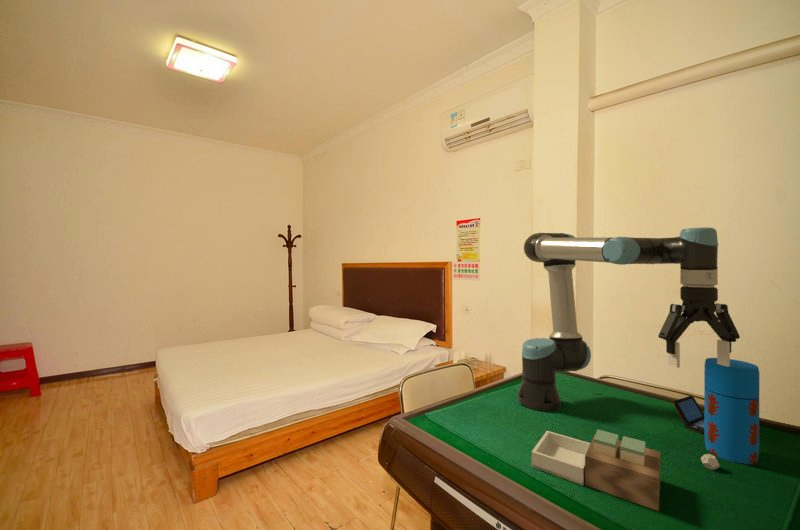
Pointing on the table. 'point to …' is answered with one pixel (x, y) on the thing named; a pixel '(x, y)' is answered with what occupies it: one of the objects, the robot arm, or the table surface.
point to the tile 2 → (632, 450)
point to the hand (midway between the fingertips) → (698, 365)
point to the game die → (710, 461)
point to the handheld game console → (690, 413)
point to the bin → (561, 456)
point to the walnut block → (625, 476)
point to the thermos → (732, 410)
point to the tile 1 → (606, 443)
